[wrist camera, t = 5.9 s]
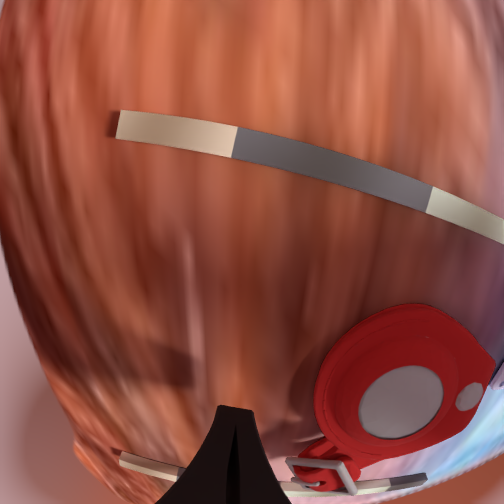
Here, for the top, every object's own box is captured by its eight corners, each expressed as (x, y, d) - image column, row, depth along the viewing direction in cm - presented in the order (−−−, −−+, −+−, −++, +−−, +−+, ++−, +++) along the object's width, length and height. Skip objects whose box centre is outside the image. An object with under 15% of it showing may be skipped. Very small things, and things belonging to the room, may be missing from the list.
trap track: (564, 256, 11) (572, 260, 10) (418, 478, 17) (421, 485, 17) (130, 112, 9) (121, 109, 9) (123, 457, 16) (120, 465, 15)
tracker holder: (323, 300, 11) (533, 324, 8) (324, 280, 15) (491, 303, 13) (271, 507, 12) (436, 513, 10) (284, 459, 16) (424, 469, 14)
